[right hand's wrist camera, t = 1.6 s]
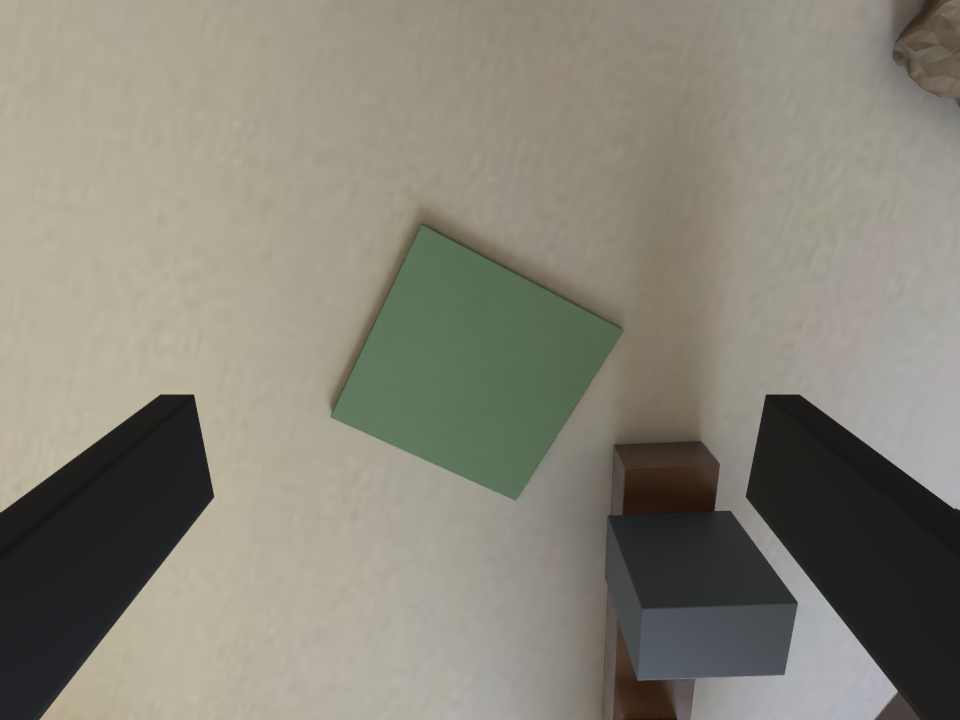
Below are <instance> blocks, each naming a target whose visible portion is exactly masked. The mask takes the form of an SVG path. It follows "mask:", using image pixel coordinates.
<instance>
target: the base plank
mask: <svg viewBox="0 0 960 720" xmlns="http://www.w3.org/2000/svg"><path fill="white" fill-rule="evenodd" d="M719 467H720V464H719V462H718V461H717V460H716V459H715V457H714V456H713V455H712V454H711V452H710V451H709V450H708V449H707V448H706V446H705V445H704V444H703V443H702V442H680V443H655V444H630V445H614V452H613V476H612V499H611V515H632V514H658V513H683V512H709V511H714V510H715V501H716V492H717V484H718V475H719ZM694 682H695V678H689V679H660V680H637V678H636V675H635V672H634V669H633V665H632V662H631V659H630V656H629V653H628V649H627V646H626V643H625V640H624V636H623V633H622V630H621V627H620V624H619V620H618V617H617V614H616V611H615V607H614V604H613V601H612V598H611V595H610V591H609V588H608V593H607V616H606V640H605V663H604V687H603V710H602V720H690V716H691V707H692V699H693V690H694Z"/></svg>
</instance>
